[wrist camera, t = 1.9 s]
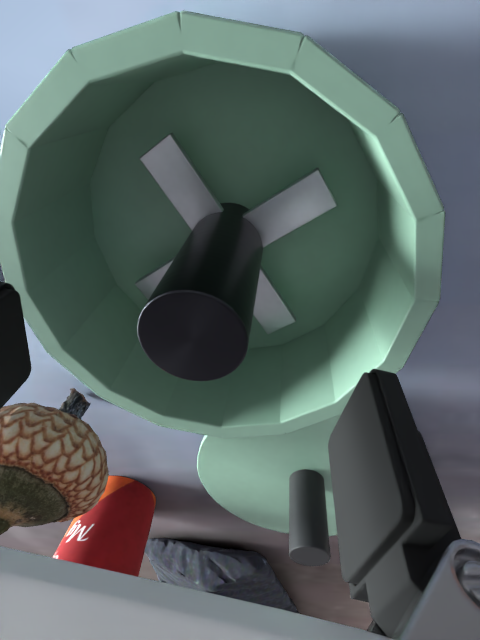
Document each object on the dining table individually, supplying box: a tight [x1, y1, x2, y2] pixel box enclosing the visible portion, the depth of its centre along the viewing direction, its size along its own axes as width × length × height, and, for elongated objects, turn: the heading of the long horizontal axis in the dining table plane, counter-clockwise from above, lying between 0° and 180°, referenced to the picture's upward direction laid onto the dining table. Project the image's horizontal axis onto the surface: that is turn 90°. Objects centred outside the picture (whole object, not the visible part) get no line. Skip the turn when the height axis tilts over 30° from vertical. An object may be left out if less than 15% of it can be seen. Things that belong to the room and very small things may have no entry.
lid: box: [197, 415, 341, 566], centre depth 24 cm, size 16×16×6 cm
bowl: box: [0, 11, 445, 439], centre depth 15 cm, size 15×15×6 cm
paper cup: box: [53, 476, 156, 577], centre depth 26 cm, size 8×8×14 cm
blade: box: [135, 133, 337, 381], centre depth 14 cm, size 10×10×8 cm
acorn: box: [0, 388, 108, 535], centre depth 21 cm, size 8×8×10 cm
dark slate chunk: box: [144, 538, 299, 614], centre depth 37 cm, size 15×22×5 cm
